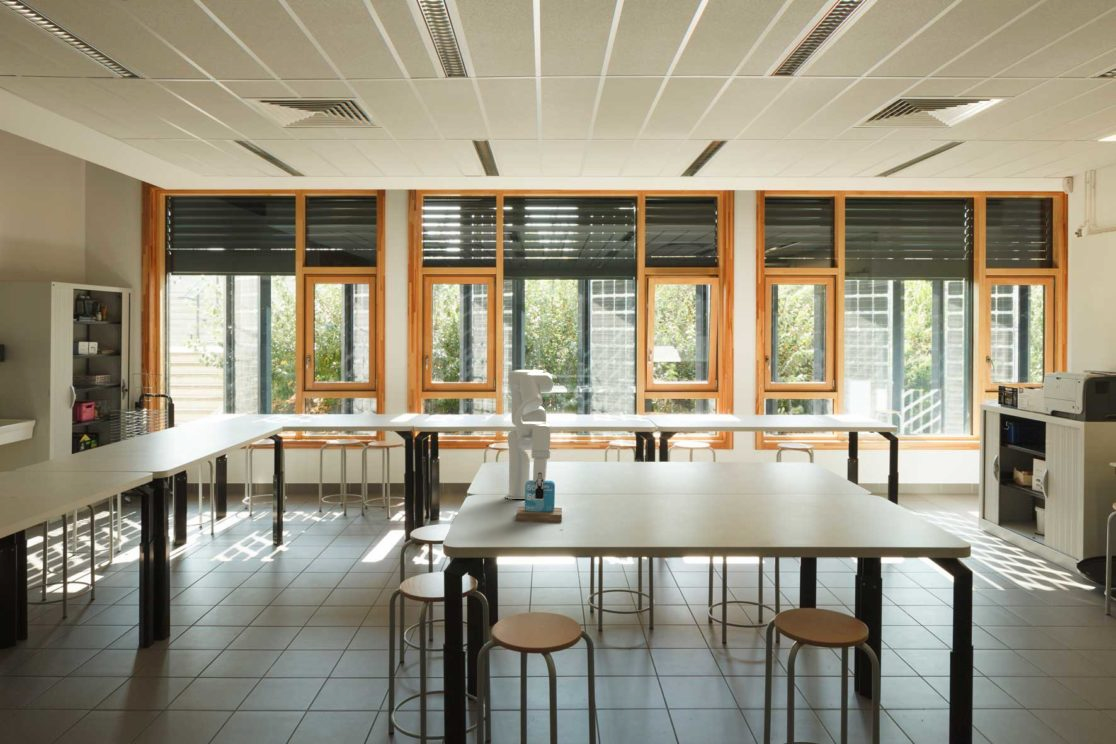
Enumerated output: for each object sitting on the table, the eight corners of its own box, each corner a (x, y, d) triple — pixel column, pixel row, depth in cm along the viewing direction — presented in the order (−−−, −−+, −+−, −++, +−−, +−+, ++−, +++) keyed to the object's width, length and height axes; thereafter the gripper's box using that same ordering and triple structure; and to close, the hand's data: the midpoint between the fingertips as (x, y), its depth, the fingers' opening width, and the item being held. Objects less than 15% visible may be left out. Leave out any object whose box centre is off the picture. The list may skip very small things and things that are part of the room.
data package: (524, 511, 307) (524, 481, 306) (525, 509, 311) (525, 480, 311) (554, 512, 307) (554, 482, 306) (554, 509, 311) (555, 480, 311)
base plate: (518, 514, 316) (518, 506, 316) (561, 515, 316) (561, 507, 316) (516, 521, 302) (516, 514, 302) (561, 522, 302) (561, 515, 302)
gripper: (532, 451, 317) (531, 491, 318) (530, 457, 300) (529, 500, 300) (550, 451, 317) (549, 492, 318) (549, 457, 300) (548, 500, 300)
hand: (539, 496), depth 309 cm, fingers open, 9 cm apart
